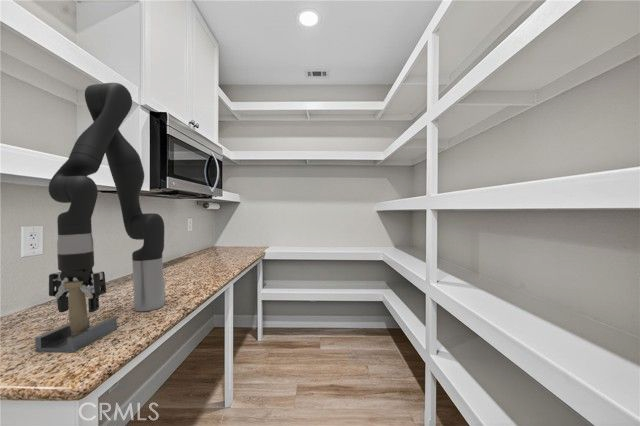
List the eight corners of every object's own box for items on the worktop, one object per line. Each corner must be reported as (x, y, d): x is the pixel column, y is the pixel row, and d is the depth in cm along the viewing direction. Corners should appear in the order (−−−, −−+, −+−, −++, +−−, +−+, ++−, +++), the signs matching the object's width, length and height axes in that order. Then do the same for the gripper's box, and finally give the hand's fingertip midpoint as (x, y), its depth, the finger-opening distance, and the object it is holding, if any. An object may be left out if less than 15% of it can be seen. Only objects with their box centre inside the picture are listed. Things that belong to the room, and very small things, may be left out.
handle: (93, 329, 84) (90, 276, 83) (88, 338, 78) (84, 281, 78) (71, 333, 82) (67, 279, 81) (64, 342, 76) (60, 284, 76)
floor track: (84, 329, 87) (84, 317, 87) (116, 329, 87) (116, 317, 87) (35, 352, 74) (35, 337, 73) (73, 352, 73) (72, 338, 73)
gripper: (112, 248, 83) (114, 306, 83) (64, 249, 84) (66, 307, 84) (89, 252, 75) (91, 316, 76) (37, 253, 77) (39, 316, 77)
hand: (78, 311), depth 80 cm, fingers open, 8 cm apart
